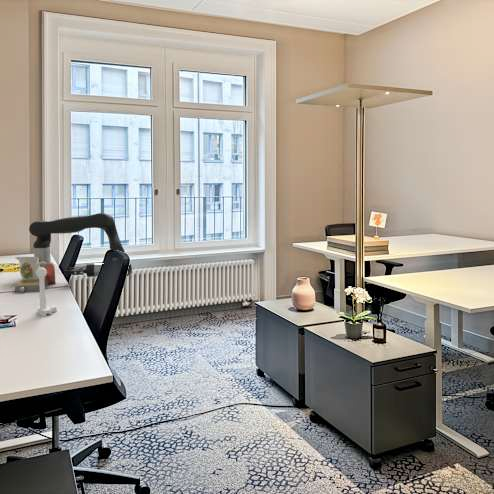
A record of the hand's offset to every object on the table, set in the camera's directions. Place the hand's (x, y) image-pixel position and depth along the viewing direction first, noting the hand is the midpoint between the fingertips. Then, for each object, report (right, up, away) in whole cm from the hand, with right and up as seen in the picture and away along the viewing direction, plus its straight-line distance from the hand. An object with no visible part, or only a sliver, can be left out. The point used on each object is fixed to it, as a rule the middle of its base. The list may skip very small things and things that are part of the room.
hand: (65, 271), depth 286 cm
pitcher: (-22, -6, +10) cm, 25 cm away
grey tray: (-13, -9, -15) cm, 22 cm away
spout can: (-8, -7, -1) cm, 11 cm away
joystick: (+15, -15, -63) cm, 67 cm away
